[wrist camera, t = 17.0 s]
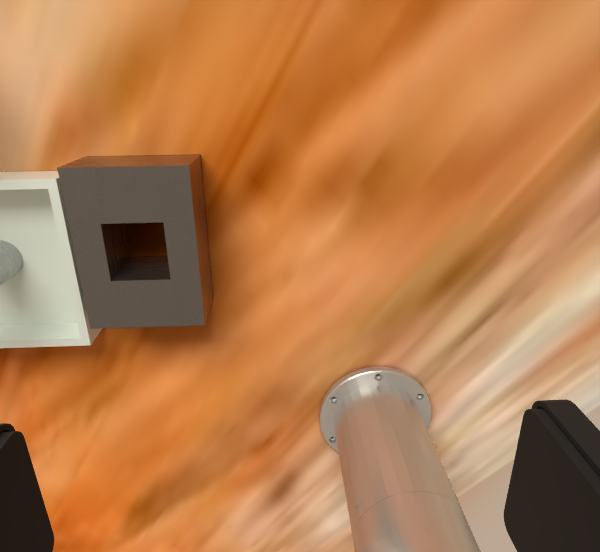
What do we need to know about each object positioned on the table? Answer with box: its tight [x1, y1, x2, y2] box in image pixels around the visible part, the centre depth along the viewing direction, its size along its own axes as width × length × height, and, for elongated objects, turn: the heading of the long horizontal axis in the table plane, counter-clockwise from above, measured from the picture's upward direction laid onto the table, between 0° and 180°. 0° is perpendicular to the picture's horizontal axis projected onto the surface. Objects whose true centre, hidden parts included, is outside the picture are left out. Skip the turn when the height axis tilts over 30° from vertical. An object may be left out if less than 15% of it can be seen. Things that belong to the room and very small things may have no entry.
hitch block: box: [57, 155, 213, 329], centre depth 41 cm, size 14×10×6 cm
